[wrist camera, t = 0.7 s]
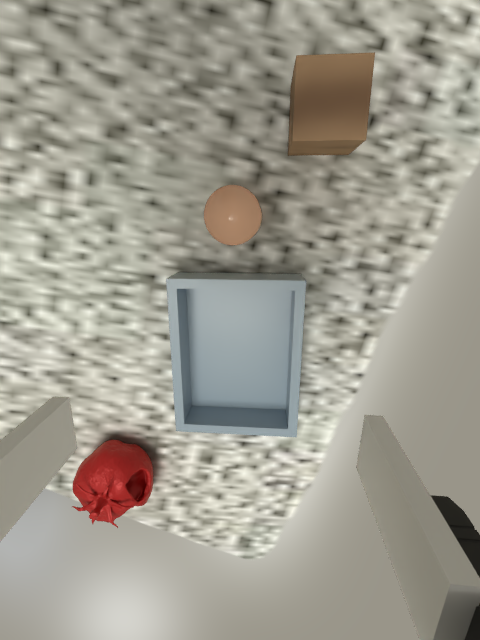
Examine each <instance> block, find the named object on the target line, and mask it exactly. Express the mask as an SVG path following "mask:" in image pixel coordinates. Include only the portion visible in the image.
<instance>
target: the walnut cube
mask: <svg viewBox="0 0 480 640" xmlns="http://www.w3.org/2000/svg"><path fill="white" fill-rule="evenodd" d="M374 57H375V53H352V54H325V55H298V56H296V60H295V66H294V71H293V77H292V83H291V93H290V118H289V143H288V155H348V154H350V153H351V152H352V151H353V150H354V149H356V148H357V147H358V146H359V145H360V144H362V143H363V142H364V141H365V140H366V135H367V125H368V115H369V106H370V96H371V86H372V77H373V67H374Z"/></svg>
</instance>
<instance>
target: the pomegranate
mask: <svg viewBox="0 0 480 640" xmlns="http://www.w3.org/2000/svg"><path fill="white" fill-rule="evenodd" d="M152 486H153V466H152V462H151V460H150V458H149V456H148V455H147V453H146V452H145V451H144V450H143V449H142V448H141V447H140V446H138V445H136V444H126V443H123V442H122V441H119V440H109V441H106V442H104V443H103V444H102V445H100V446H99V447H98V448H97V449H96V450H95V451H94V452H93V453H92V454H91V455H90V456H88V457H87V458H86V459H85V460H84V461H83V462H82V463H81V465H80V466H79V468H78V470H77V473H76V476H75V478H74V481H73V493H74V494H75V496H76V497H77V498H78V499H79V501H80V502H81V504H82V505H83V507H82V508H78V507H74V506H73V507H74V508H75V509H77V510H78V511H85V510H87V511H88V512H89V513H90V515H89V518H90V519H92V523H93V522H94V521H95V520H97V521H105V522H110V523H112V524H113V525H115V526H116V524H114V522H113V521H114V520H115V519H116V518H118V517H120V516H122V515H123V514H124V513H125V512H126V511H127V510H128V509H130V508H132V507H134V506H142V505H144V504H145V503H146V502H147V500H148V498H149V497H150V495H151V492H152ZM116 527H117V528H118V526H116Z"/></svg>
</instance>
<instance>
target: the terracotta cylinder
mask: <svg viewBox="0 0 480 640" xmlns="http://www.w3.org/2000/svg"><path fill="white" fill-rule="evenodd" d="M204 220H205V224H206V227H207V229H208V231H209V233H210V234H211V235H212V236H213V237H214V238H215V239H216V240H217V241H219V242H221V243H223V244H227V245H239V244H242V243H245V242H247V241H248V240H249V239H251V238H252V237H253V236H254V235H255V234H256V233H257V231H258V230H259V228H260V226H261V222H262V212H261V208H260V205H259V203H258V201H257V199H256V197H255V196H254V195H253V194H252V193H251V192H250V191H249V190H247V189H246V188H244V187H241V186H238V185H227V186H224V187H221V188H219V189H217V190H216V191H215V192H214V193H213V194H212V195H211V196H210V197H209V199H208V201H207V203H206V206H205V210H204Z"/></svg>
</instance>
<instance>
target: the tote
mask: <svg viewBox="0 0 480 640" xmlns="http://www.w3.org/2000/svg"><path fill="white" fill-rule="evenodd" d="M166 282H167V297H168V313H169V328H170V343H171V359H172V374H173V389H174V405H175V420H176V431H184V432H204V433H224V434H244V435H264V436H283V437H297V421H298V405H299V389H300V373H301V357H302V340H303V324H304V308H305V292H306V280H305V278H304V277H303V276H302V274H277V273H200V272H178V273H176V274H174V275H172V276H170V277H169V278H167V279H166Z"/></svg>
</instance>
